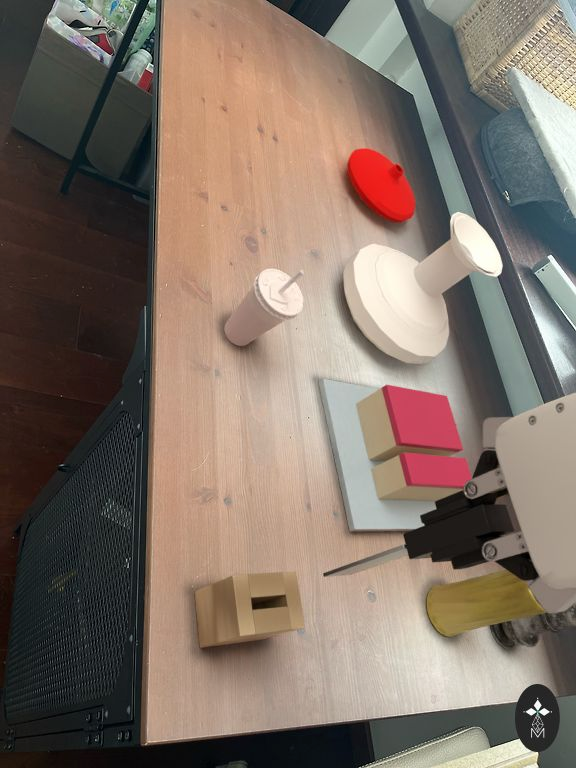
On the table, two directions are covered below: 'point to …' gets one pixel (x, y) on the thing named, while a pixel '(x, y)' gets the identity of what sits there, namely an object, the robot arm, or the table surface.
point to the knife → (439, 536)
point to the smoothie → (265, 306)
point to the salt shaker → (532, 627)
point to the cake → (407, 423)
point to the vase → (480, 603)
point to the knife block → (248, 608)
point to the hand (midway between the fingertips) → (440, 537)
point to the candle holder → (414, 290)
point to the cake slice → (420, 477)
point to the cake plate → (362, 466)
